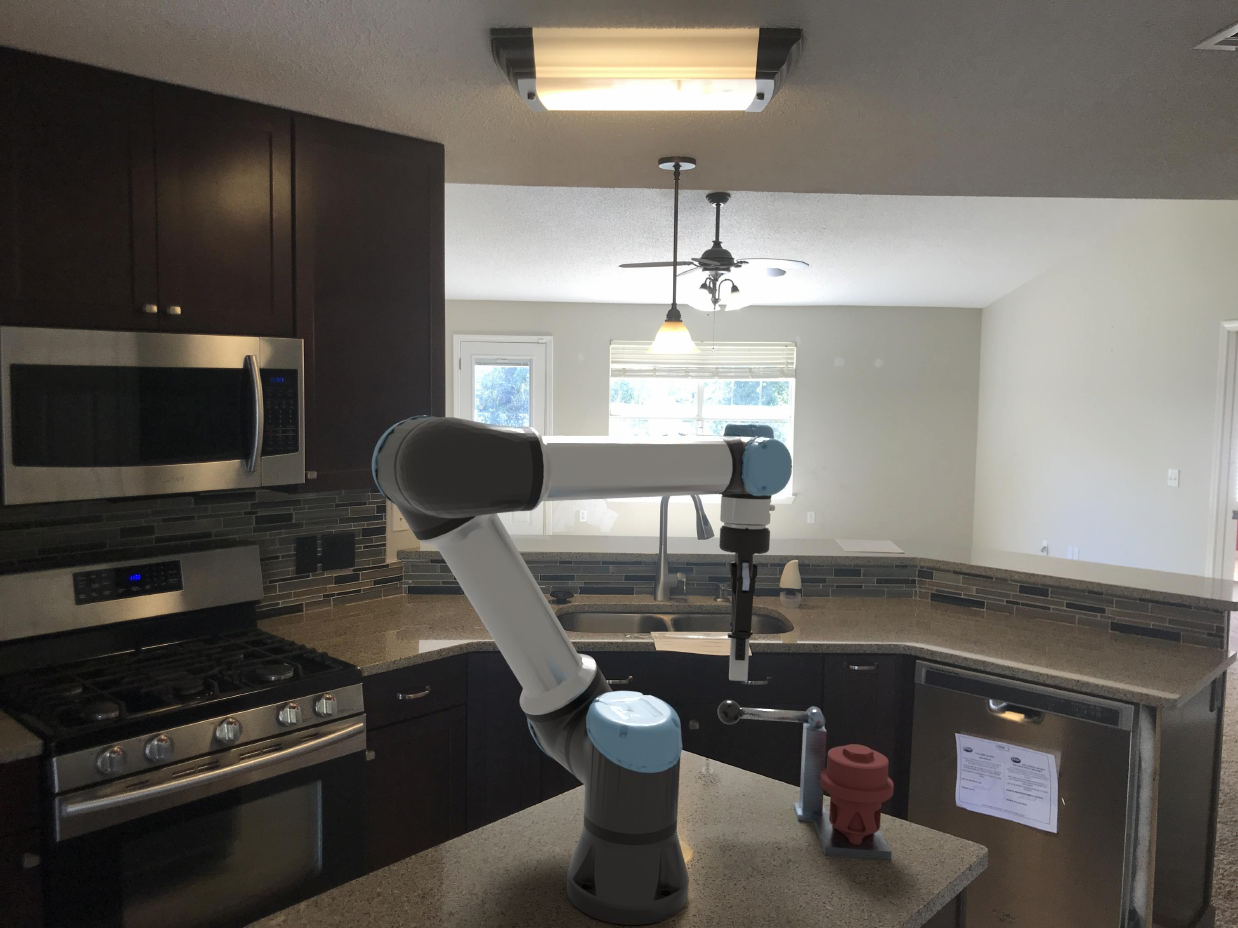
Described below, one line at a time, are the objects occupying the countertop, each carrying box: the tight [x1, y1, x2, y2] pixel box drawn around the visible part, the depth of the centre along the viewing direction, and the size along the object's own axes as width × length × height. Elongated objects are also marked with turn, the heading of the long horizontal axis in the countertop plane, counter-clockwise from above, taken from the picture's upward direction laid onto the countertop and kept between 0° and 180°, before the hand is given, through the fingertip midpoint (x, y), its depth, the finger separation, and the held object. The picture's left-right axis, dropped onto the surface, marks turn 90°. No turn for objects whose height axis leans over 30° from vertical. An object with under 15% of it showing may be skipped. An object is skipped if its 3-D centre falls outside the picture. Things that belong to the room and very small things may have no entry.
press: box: [793, 722, 893, 861], centre depth 123 cm, size 11×15×14 cm
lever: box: [717, 699, 826, 729], centre depth 128 cm, size 16×4×4 cm, turn 86°
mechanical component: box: [820, 743, 894, 845], centre depth 120 cm, size 12×10×10 cm
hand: (738, 678), depth 129 cm, fingers closed
